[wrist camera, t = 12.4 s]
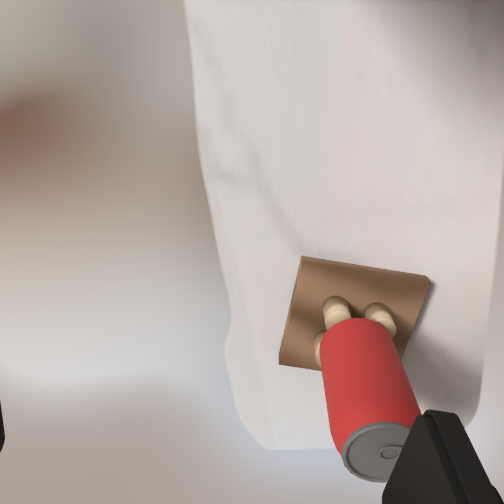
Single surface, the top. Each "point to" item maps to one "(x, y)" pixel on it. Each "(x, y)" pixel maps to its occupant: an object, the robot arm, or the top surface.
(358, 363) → the beer can
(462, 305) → the top surface
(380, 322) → the peg stand
